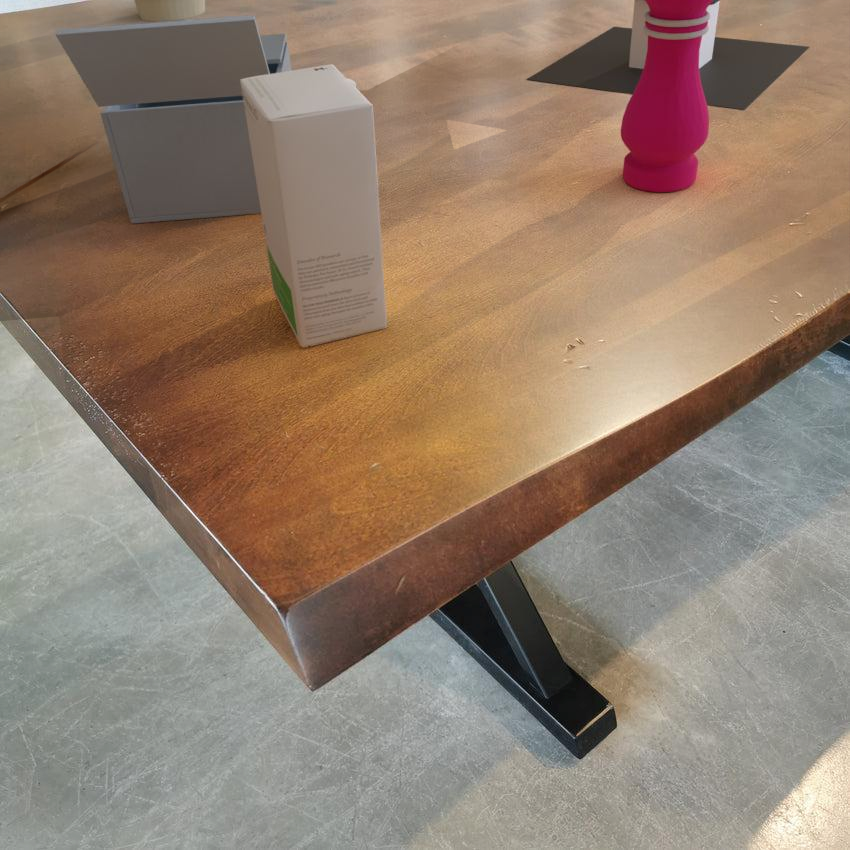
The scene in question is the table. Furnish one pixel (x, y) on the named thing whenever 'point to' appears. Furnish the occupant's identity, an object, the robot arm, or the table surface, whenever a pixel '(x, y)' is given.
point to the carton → (188, 153)
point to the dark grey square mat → (718, 62)
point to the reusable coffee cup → (169, 9)
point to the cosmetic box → (318, 200)
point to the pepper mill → (668, 100)
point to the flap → (166, 59)
